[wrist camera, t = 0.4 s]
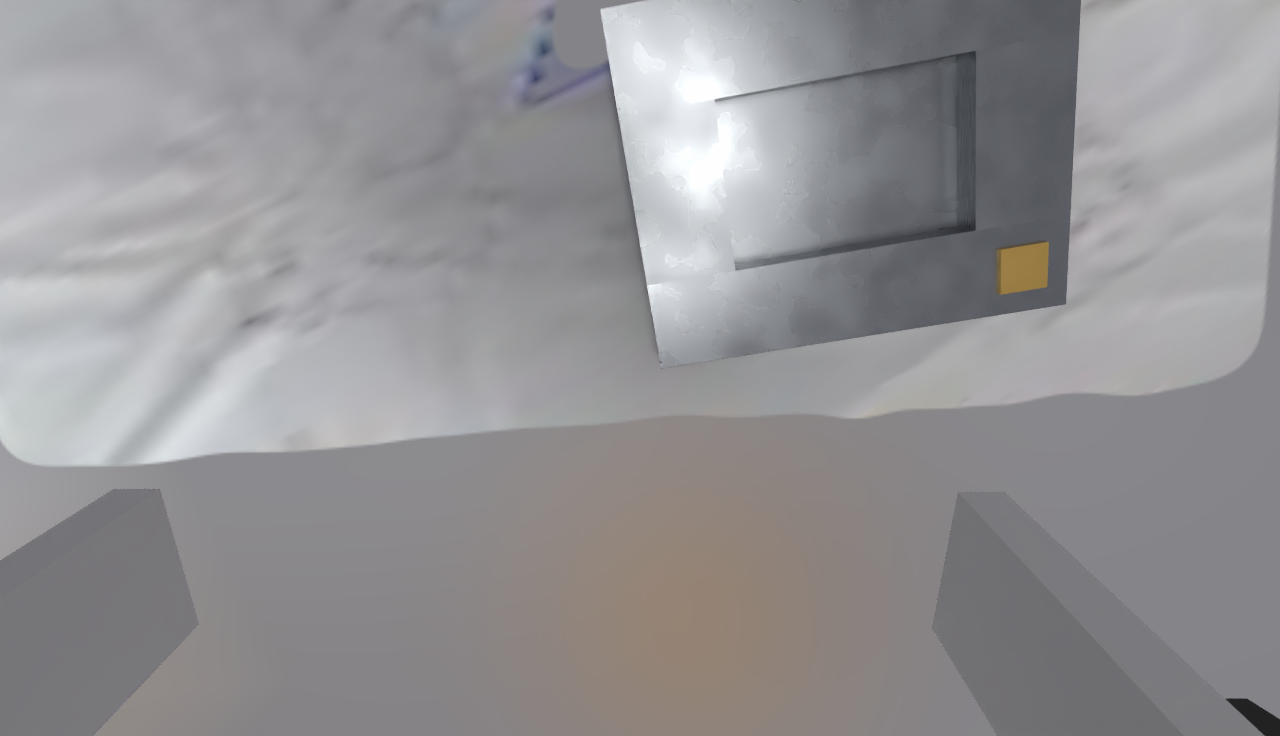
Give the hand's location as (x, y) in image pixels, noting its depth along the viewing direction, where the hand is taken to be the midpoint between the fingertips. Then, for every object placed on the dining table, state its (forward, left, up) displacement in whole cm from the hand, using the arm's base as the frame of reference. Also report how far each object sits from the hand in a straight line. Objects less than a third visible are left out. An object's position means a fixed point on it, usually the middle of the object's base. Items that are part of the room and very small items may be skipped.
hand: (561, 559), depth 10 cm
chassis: (-4, +13, -27) cm, 30 cm away
